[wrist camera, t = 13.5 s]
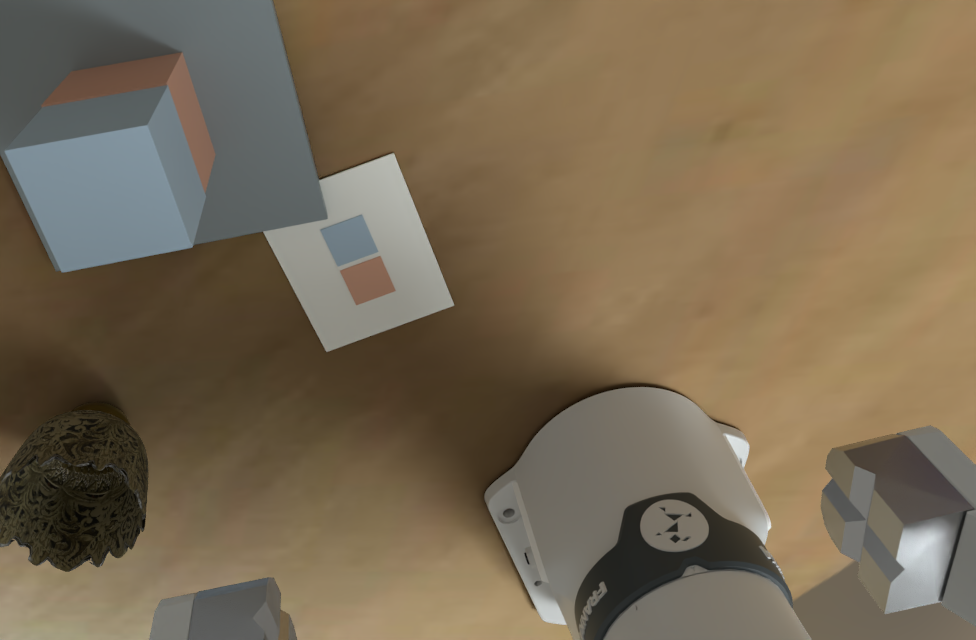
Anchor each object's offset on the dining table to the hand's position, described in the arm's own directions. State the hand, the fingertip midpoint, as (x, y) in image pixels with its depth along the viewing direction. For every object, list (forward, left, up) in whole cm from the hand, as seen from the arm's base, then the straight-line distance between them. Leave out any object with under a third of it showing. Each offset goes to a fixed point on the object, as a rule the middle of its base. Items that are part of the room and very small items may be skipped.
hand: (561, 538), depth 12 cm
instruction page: (-12, +4, -33) cm, 35 cm away
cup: (-19, +21, -33) cm, 44 cm away
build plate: (-2, +12, -33) cm, 35 cm away
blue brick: (-2, +12, -27) cm, 30 cm away
